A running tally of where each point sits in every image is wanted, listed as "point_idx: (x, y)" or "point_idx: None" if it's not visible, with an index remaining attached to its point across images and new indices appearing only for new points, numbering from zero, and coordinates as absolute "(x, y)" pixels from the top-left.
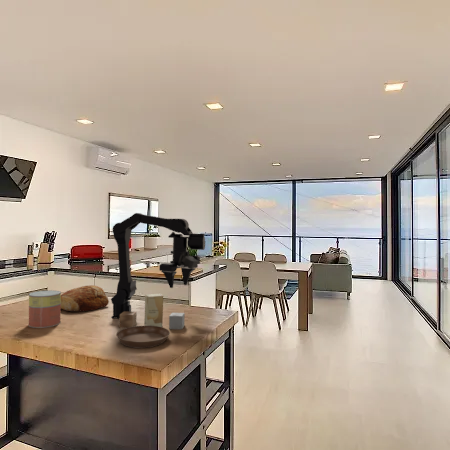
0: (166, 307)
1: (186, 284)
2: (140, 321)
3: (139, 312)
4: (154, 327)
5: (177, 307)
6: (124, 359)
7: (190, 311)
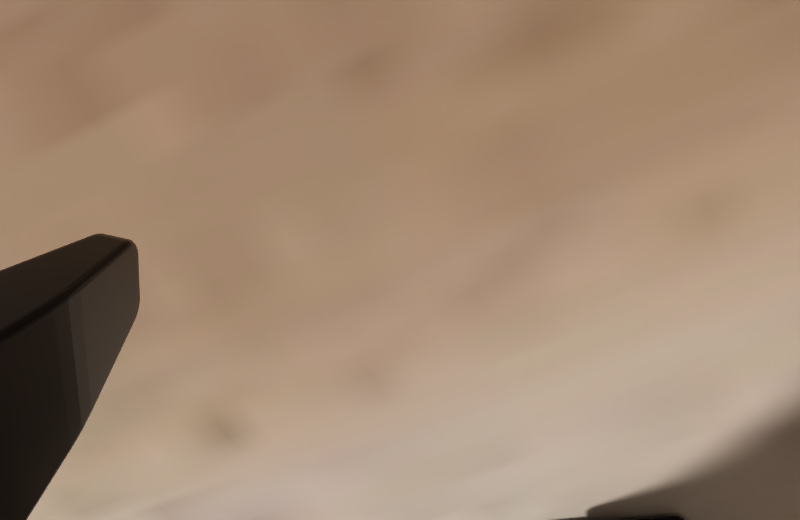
0: None
1: (108, 238)
2: (759, 377)
3: (412, 502)
4: None
5: None
6: None
7: (49, 32)
